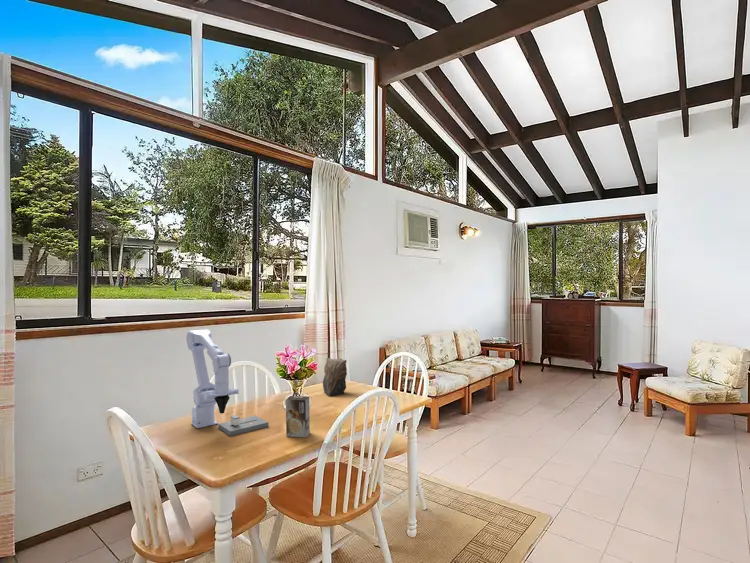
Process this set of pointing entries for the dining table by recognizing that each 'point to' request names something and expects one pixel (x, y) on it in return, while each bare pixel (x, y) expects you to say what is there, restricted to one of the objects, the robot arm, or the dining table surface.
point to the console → (243, 425)
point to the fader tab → (235, 420)
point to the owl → (334, 377)
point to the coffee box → (297, 416)
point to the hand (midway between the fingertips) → (221, 412)
